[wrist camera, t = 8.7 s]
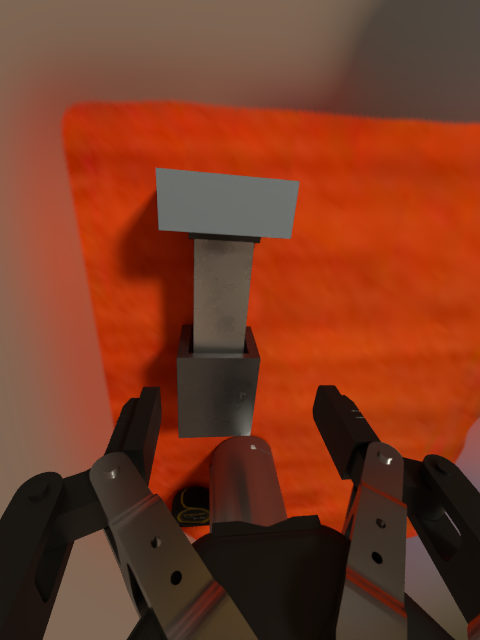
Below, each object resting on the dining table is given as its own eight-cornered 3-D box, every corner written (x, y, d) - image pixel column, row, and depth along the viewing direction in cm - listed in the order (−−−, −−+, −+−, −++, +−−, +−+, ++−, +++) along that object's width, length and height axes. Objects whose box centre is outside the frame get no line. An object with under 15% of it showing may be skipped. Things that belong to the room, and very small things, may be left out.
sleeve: (243, 395, 37) (250, 435, 31) (183, 395, 36) (178, 437, 30) (250, 326, 33) (260, 358, 27) (182, 325, 32) (176, 357, 25)
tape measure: (173, 507, 47) (170, 532, 43) (173, 482, 44) (170, 506, 40) (213, 505, 47) (213, 529, 44) (215, 480, 45) (216, 504, 41)
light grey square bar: (239, 349, 33) (245, 378, 28) (191, 349, 33) (189, 378, 28) (253, 198, 26) (264, 200, 21) (192, 193, 25) (188, 194, 20)
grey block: (270, 226, 28) (290, 238, 21) (170, 219, 27) (158, 229, 20) (276, 183, 26) (299, 181, 20) (169, 173, 25) (155, 167, 18)
